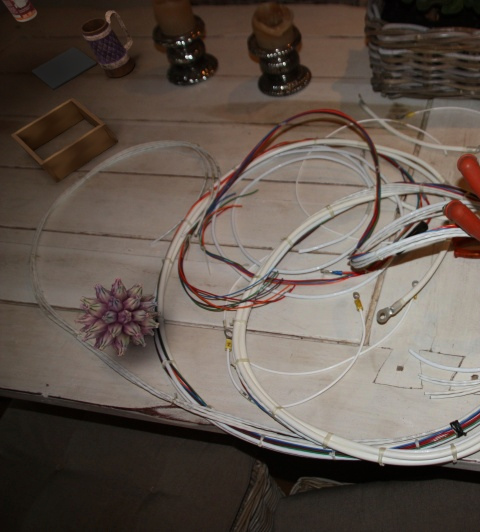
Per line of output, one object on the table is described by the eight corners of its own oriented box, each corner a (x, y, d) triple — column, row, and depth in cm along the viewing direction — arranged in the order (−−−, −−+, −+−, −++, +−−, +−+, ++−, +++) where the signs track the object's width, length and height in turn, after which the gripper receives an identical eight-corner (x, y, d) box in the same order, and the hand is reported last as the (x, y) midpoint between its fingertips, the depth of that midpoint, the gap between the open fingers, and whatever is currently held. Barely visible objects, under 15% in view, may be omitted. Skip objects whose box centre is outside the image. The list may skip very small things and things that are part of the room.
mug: (118, 81, 128) (89, 35, 119) (100, 73, 131) (70, 28, 121) (150, 57, 133) (125, 11, 123) (132, 50, 135) (105, 4, 126)
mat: (53, 90, 129) (52, 88, 129) (32, 72, 135) (31, 70, 134) (97, 64, 134) (96, 62, 133) (74, 47, 139) (74, 46, 139)
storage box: (57, 182, 111) (41, 165, 107) (26, 152, 117) (10, 134, 113) (118, 141, 116) (105, 123, 112) (85, 115, 122) (72, 97, 118)
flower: (132, 305, 93) (188, 303, 89) (98, 368, 86) (157, 369, 82) (83, 264, 85) (142, 260, 81) (40, 331, 78) (103, 330, 74)
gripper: (-65, -71, 112) (-16, -6, 123) (-28, -45, 103) (22, 22, 114) (-36, -84, 114) (10, -19, 125) (3, -60, 105) (49, 8, 116)
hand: (16, 1), depth 120 cm, fingers closed on pill bottle, 5 cm apart
